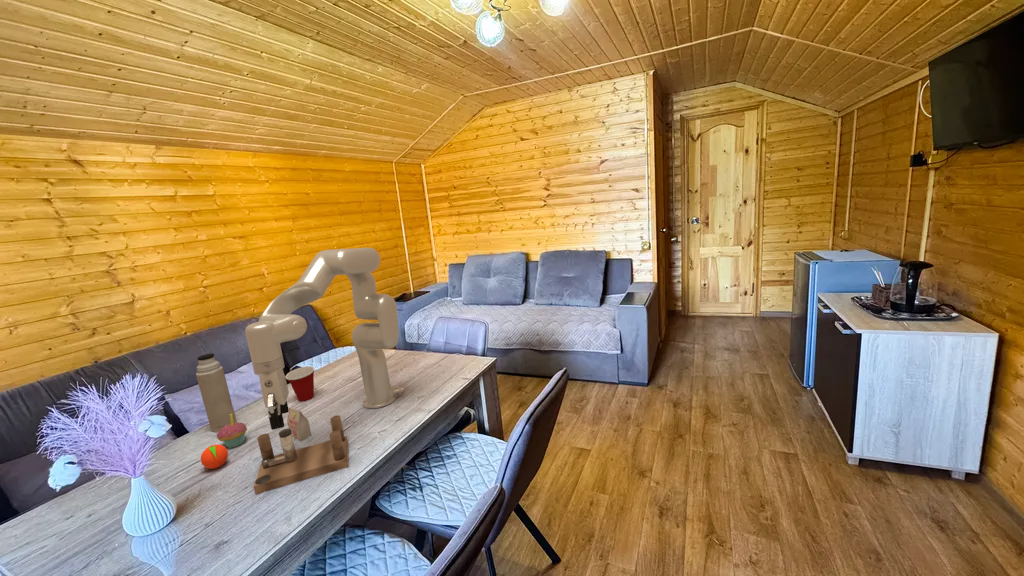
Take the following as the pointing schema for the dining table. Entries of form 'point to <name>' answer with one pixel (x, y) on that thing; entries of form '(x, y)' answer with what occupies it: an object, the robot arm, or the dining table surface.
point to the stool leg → (287, 448)
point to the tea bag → (298, 424)
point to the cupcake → (232, 433)
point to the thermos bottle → (214, 392)
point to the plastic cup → (302, 382)
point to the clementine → (214, 456)
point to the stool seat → (303, 460)
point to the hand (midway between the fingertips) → (280, 420)
